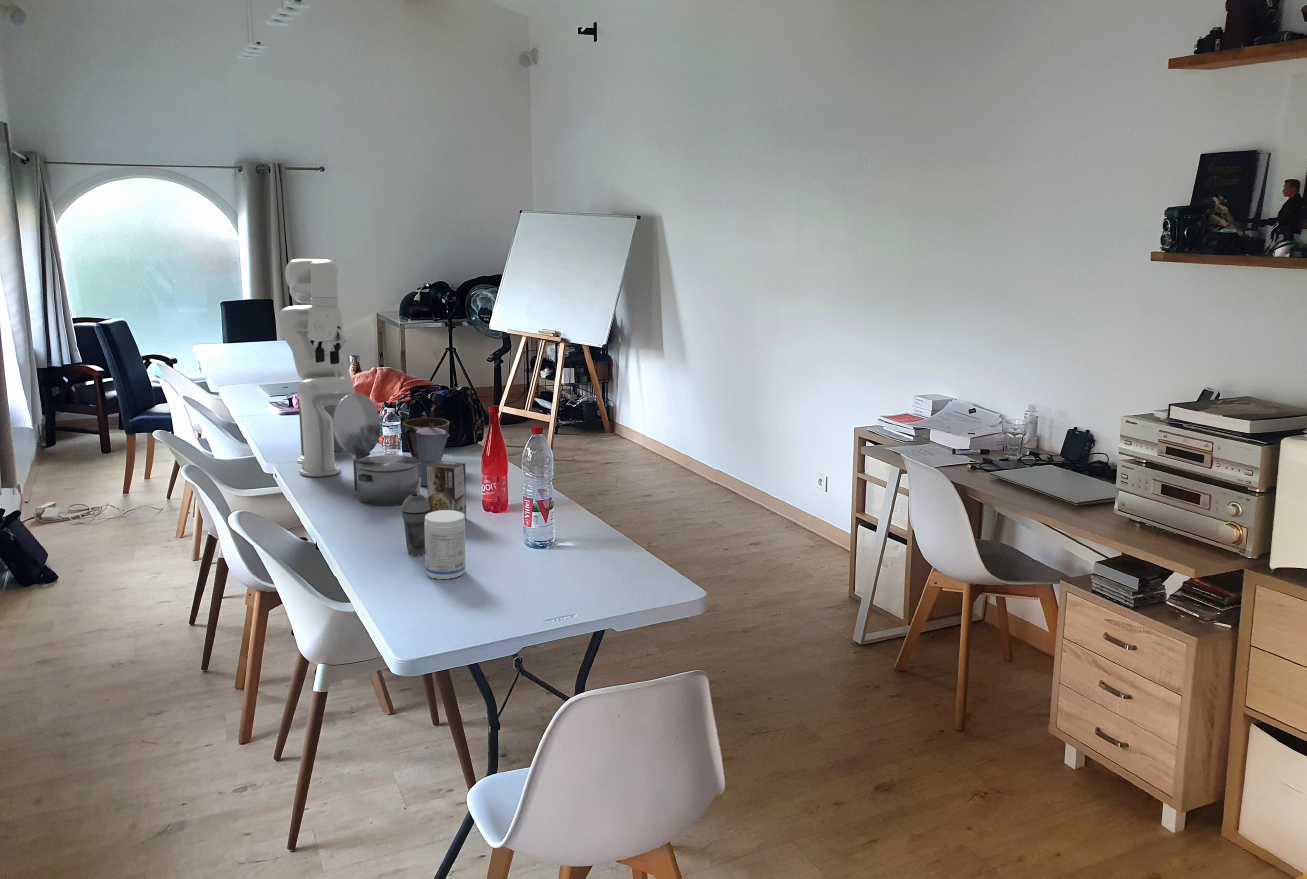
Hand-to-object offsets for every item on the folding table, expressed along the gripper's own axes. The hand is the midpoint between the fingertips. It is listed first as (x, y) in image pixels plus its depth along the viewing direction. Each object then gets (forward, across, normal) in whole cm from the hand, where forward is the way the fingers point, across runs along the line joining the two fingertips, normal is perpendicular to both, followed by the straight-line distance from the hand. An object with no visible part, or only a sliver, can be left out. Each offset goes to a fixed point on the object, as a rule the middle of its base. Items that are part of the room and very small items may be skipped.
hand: (327, 362), depth 291 cm
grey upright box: (+40, -36, +33) cm, 63 cm away
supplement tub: (+40, +76, -43) cm, 96 cm away
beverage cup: (+40, +61, -35) cm, 81 cm away
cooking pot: (+39, +22, 0) cm, 45 cm away
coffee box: (+40, +50, -8) cm, 64 cm away
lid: (+18, +12, 0) cm, 22 cm away
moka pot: (+40, +22, +19) cm, 49 cm away
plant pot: (+40, +10, +34) cm, 53 cm away
